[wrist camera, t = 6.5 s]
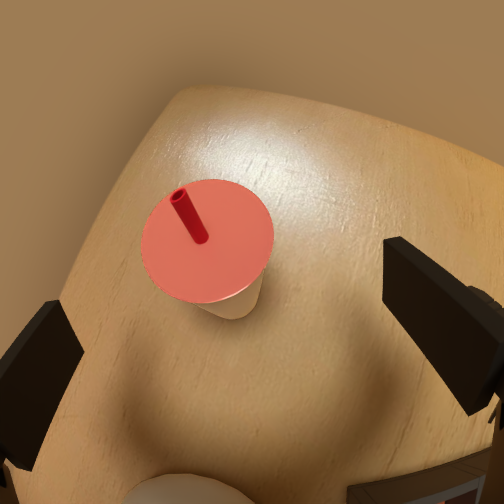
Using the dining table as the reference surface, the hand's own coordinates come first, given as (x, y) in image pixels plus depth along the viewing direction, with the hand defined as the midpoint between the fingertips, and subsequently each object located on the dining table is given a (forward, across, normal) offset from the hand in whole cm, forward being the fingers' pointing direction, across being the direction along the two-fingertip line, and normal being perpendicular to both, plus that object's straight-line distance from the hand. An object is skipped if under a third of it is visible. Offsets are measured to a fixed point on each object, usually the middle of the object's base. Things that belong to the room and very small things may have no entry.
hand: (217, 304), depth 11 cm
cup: (+8, 0, -4) cm, 9 cm away
